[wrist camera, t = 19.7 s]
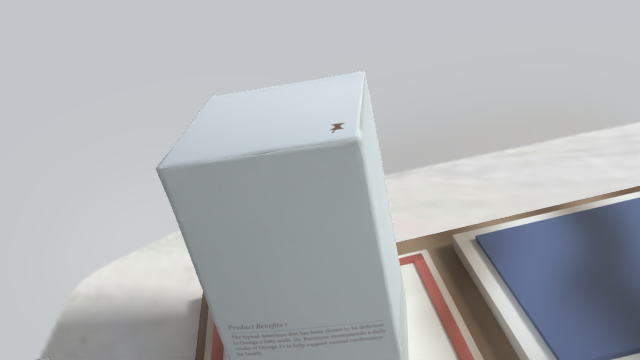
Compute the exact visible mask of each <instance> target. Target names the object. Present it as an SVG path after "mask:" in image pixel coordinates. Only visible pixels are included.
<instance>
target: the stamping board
mask: <svg viewBox="0 0 640 360" xmlns="http://www.w3.org/2000/svg"><path fill="white" fill-rule="evenodd" d="M396 246H397V252H398V257H399V263H400V268H401V273H402V279H403V284H404V290H405V295H406V304H407V328H408V357H409V360H640V186H637V187H633V188H629V189H625V190H620V191H616V192H612V193H607V194H603V195H599V196H595V197H590V198H586V199H582V200H577V201H573V202H569V203H564V204H560V205H556V206H552V207H547V208H543V209H539V210H534V211H530V212H526V213H522V214H517V215H513V216H509V217H504V218H500V219H496V220H492V221H487V222H483V223H479V224H474V225H470V226H466V227H462V228H457V229H453V230H449V231H444V232H440V233H436V234H432V235H427V236H423V237H419V238H414V239H410V240H406V241H402V242H397V243H396ZM195 360H229V359H228V357H227V354H226V351H225V349H224V346H223V343H222V340H221V338H220V335H219V333H218V330H217V327H216V325H215V322H214V319H213V316H212V314H211V311H210V308H209V306H208V303H207V300H206V297H205V295H204V292H203V295H202V304H201V313H200V322H199V331H198V340H197V349H196V358H195Z"/></svg>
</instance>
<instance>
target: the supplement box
mask: <svg viewBox="0 0 640 360" xmlns="http://www.w3.org/2000/svg"><path fill="white" fill-rule="evenodd" d="M156 171H157V173H158V176H159V178H160V180H161V182H162V185H163V187H164V190H165V192H166V194H167V197H168V199H169V202H170V204H171V207H172V209H173V212H174V214H175V217H176V219H177V222H178V225H179V228H180V230H181V233H182V236H183V238H184V241H185V244H186V246H187V249H188V252H189V254H190V257H191V260H192V263H193V265H194V268H195V271H196V273H197V276H198V279H199V282H200V284H201V287H202V289H203V292H204V295H205V297H206V300H207V303H208V306H209V308H210V311H211V314H212V316H213V319H214V322H215V325H216V327H217V330H218V333H219V335H220V338H221V340H222V343H223V346H224V349H225V351H226V354H227V357H228V359H229V360H409V357H408V328H407V304H406V295H405V290H404V284H403V279H402V273H401V268H400V263H399V257H398V252H397V246H396V240H395V235H394V229H393V223H392V217H391V212H390V206H389V200H388V195H387V189H386V183H385V177H384V171H383V165H382V160H381V155H380V149H379V144H378V139H377V133H376V127H375V122H374V116H373V110H372V105H371V100H370V94H369V89H368V84H367V79H366V75H365V72H363V71H361V72H355V73H350V74H344V75H338V76H333V77H327V78H321V79H316V80H310V81H304V82H298V83H292V84H285V85H279V86H273V87H267V88H261V89H255V90H249V91H243V92H237V93H230V94H225V95H217V96H212V97H211V98H210V99H209V101H208V102H207V103H206V104H205V106H204V107H203V108H202V109H201V111H200V112H199V114H198V115H197V116H196V117H195V119H194V120H193V121H192V122H191V124H190V125H189V126H188V128H187V129H186V130H185V132H184V133H183V135H182V136H181V137H180V138H179V140H178V141H177V142H176V144H175V146H174V147H173V148H172V149H171V150H170V152H169V153H168V154H167V155H166V156H165V158H164V159H163V160H162V161H161V163H160V164H159V165H158V166H157V167H156Z"/></svg>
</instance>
